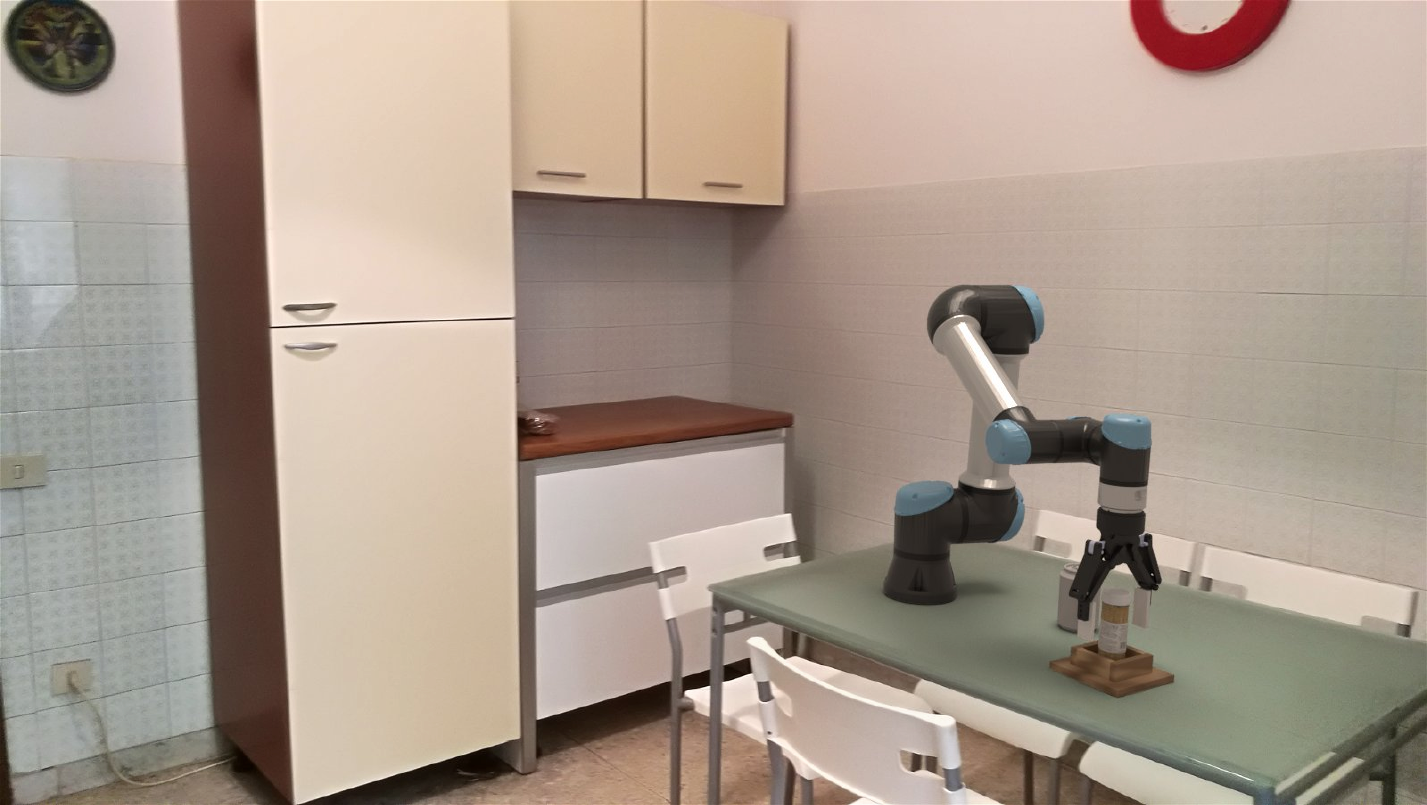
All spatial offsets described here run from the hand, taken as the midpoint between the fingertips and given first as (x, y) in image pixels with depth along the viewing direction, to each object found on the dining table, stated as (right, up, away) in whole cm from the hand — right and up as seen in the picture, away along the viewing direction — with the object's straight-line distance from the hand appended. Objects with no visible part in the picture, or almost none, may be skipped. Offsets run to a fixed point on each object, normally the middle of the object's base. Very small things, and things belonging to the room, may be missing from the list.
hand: (1113, 632), depth 173 cm
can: (+2, -5, +24) cm, 25 cm away
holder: (0, -7, +1) cm, 7 cm away
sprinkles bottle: (0, -6, +1) cm, 6 cm away
